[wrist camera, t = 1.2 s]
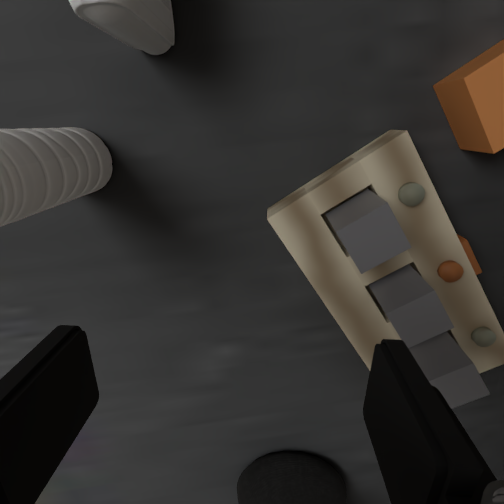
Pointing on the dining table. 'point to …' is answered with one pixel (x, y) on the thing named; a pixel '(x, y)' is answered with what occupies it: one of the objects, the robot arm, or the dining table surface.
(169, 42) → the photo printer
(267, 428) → the dining table surface
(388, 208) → the block
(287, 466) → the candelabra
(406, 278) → the block
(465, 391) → the block
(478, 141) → the cap
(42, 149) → the water bottle
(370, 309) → the breaker board
